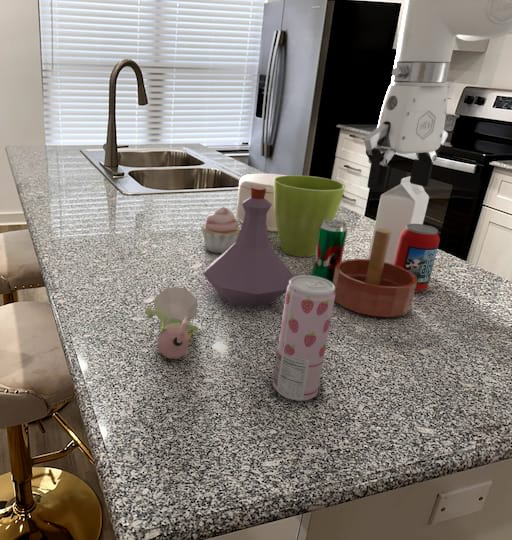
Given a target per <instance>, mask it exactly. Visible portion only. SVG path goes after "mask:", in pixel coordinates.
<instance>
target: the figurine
mask: <svg viewBox="0 0 512 540" xmlns="http://www.w3.org/2000/svg"><path fill="white" fill-rule="evenodd" d="M153 301H154V303H153V304H154V306H153V308H154V309H153V308H150V307H146V308H145V310H144V311H145V313H144V314H145V315H147V317H148V318H149V319H152V318H153V317H154V316H156V318H158V320H159V321H160V322H161V325H160V329H159V336H158V339H157V342H156V344H157V346H156V348H157V349H158V352H159V353H160V354H162V355H163V356H165V357H166V358H167V359H173V360H174V359H175V360H179V359H180V358H183V357H185V355H186V354H187V351H188V349H189V345H190V344H191V343H192V342H194V341H195V339H193V338H192V335H193V334H196V333H197V332H198V329H199V328H198V327H197V326H195V325H194V324H191V323H189V322H190V321H191V320H193V319H194V318H195V317H197V316H198V315H197V314H198V298H196V297H195V296H194V295H193V294H192V293H191V292H190V290H188V289H187V288H186V287H166V288H164V289H163V290H162V291H161V292H159V294H157V295H156V296H155V297H154V300H153Z"/></svg>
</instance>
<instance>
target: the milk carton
mask: <svg viewBox="0 0 512 540" xmlns="http://www.w3.org/2000/svg"><path fill="white" fill-rule="evenodd" d="M410 177H411V175H410V176H409V175H408V176H406V177H403V178H401V179H400V184H398V185H396V186H393V188H390V189H389V190H387V191H384V193H382V194H381V195H380V198H379V204H378V208H377V213H376V217H375V223H374V227H373V232H372V237H371V243H370V246H369V252H368V256H367V259H370V256H371V251H372V247H373V242H374V237H375V232H376V229H386V230H389V231H391V235H390V240H389V244H388V249H387V253H386V258H385V262H387V263H390V264H393V263H394V258H395V254H396V250H397V245H398V241H399V237H400V233H401V232H402V231H403V230H404V229H405V227H406V225H408V224H423V225H424V221H425V216H426V213H427V209H428V206H429V205H428V204H429V200H430V196H429V194H428V193H427V192H426V191H425V188H424V186H420V185H416V184H412V183H410Z"/></svg>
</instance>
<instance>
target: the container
mask: <svg viewBox="0 0 512 540" xmlns="http://www.w3.org/2000/svg"><path fill="white" fill-rule="evenodd" d="M279 176H288V175H287V174H278V173H250V174H246V175H244V176H242V177H240V180H239V182H238V191H237V202H236V212H235V216H236V218H237V219H238V220H240V222H241V224H243V222H244V217H245V210H244V208H243V205H242V203H243V202H244V201H246V200H247V199H249V198H250V197H251V187H253V186H260V187H265V188H267V189H266V193H265V197H264V198H265V199H266V200H267V201H269V202H270V203H271V204H272V206H271V207H270V209H269V211H268V212H267V220H266V224H267V230H268V232H278V230H277V224H276V216H275V206H274V179H275V178H276V177H279Z"/></svg>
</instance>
